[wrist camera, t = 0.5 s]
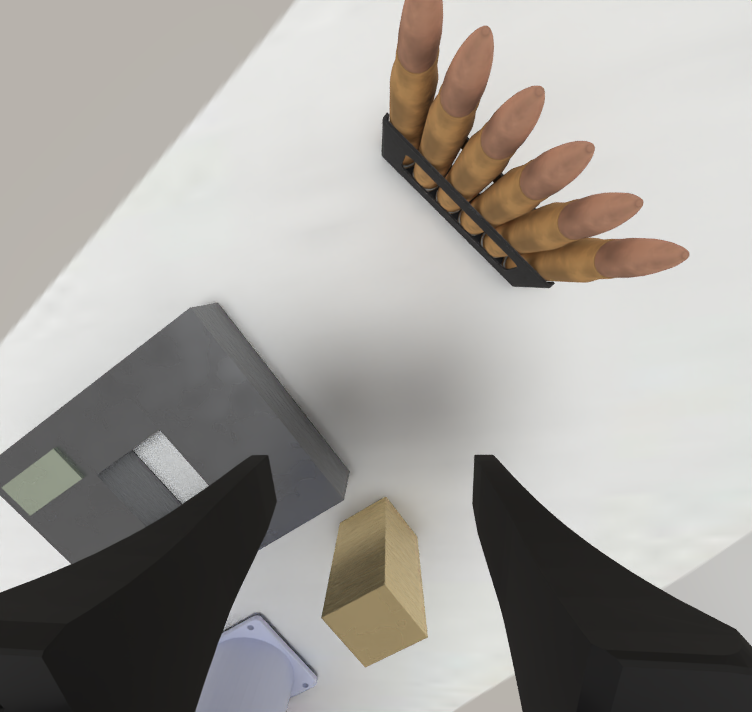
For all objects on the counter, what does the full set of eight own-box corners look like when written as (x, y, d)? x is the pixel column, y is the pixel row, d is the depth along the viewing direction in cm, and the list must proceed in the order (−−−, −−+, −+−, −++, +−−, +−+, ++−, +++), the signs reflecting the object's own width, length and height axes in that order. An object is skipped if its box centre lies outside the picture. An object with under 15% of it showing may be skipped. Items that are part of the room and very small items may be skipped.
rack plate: (161, 585, 27) (131, 626, 24) (26, 448, 24) (-27, 474, 21) (349, 472, 24) (343, 502, 21) (217, 302, 21) (188, 308, 18)
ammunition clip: (380, 154, 19) (365, -30, 7) (403, 126, 19) (426, -116, 7) (513, 287, 20) (679, 309, 9) (537, 263, 20) (742, 252, 8)
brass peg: (371, 561, 26) (365, 667, 19) (339, 523, 25) (321, 617, 18) (417, 537, 25) (427, 637, 18) (386, 496, 24) (384, 584, 17)
